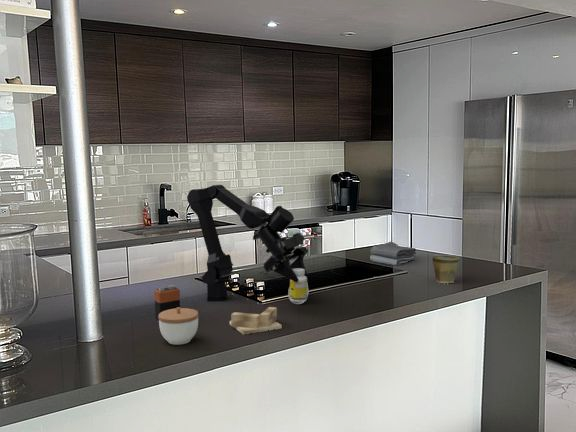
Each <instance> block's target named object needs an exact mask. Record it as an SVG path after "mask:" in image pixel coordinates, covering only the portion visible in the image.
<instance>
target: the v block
mask: <svg viewBox="0 0 576 432" xmlns="http://www.w3.org/2000/svg"><path fill="white" fill-rule="evenodd" d="M230 318H231V320H229V325H230V326H231V327H232V328H234V329H235V330H237V331H238V332H239V333H241V335H243V336H245V334H246V335H251V334H250V333H252V334H256V333H257V332H258V333H263V332H268V330H269V331H275V330H279V329H282V328H283V327H282V326H283V325H282V324H281V323H280V322H278V321H276V320H277V319H278V308H277V307H275V306H269V307H267V308H266V309H265V310H264V311H263V312H261V313H260V314H259V313H248V312H236V311H235V312H232V313H231V315H230ZM274 329H275V330H274ZM258 333H257V334H258Z"/></svg>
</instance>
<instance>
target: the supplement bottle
mask: <svg viewBox="0 0 576 432" xmlns="http://www.w3.org/2000/svg"><path fill="white" fill-rule="evenodd" d="M305 269H306V268H305ZM305 269H302V268H295V269H292V270H293V271H294V273H295V275H296V276H297V278H298V280H299V281H298V282H294V281H292V280H290V279H289V287H290V299H291V300H292V301H295V302H302V301H305V302H306V301H308V300H307V299H308V297H307V283H308V277H306V276H304V274H305ZM290 299H289V300H290Z"/></svg>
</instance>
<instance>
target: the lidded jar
mask: <svg viewBox="0 0 576 432" xmlns="http://www.w3.org/2000/svg"><path fill="white" fill-rule="evenodd" d="M158 318H159V319H158V324H159V325H158V327H159V330H160V334H161V336H162V337H163V338H164V339H165V341H167V342H168V344H170V345H173V346H174V345H175V346H177V345H178V346H179V345H185V344H188V343H190V342H191V341H192V339H193V338H194V337H195V335H196V333H197V332H198V328H199V327H198V326H199V312H198V310H197V309H194V308H187V307H181V306H180V307H177V308H175V309H169V310H165V311H163V312H161V313H160V314H159V315H158Z"/></svg>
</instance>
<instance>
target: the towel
mask: <svg viewBox="0 0 576 432" xmlns="http://www.w3.org/2000/svg"><path fill="white" fill-rule="evenodd" d="M416 251H417V249H416V248H415V247H411V246H410V247H409V246H400V245H398V244H397V243H395V242H393V241H387V242H385V243H381V244H376V245H374V246H372V247H371V249H370V251H369V254H371V255H370V257H369V259H370V261H371V262H374V263H380V264H385V265H390V264H391V266H400V265H399V264H401V265H403V264H406V263H409V262H412V261H414V260H415V258H416V255H417V252H416ZM413 259H414V260H413ZM411 260H412V261H411ZM408 261H409V262H408ZM402 263H403V264H402Z"/></svg>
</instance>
